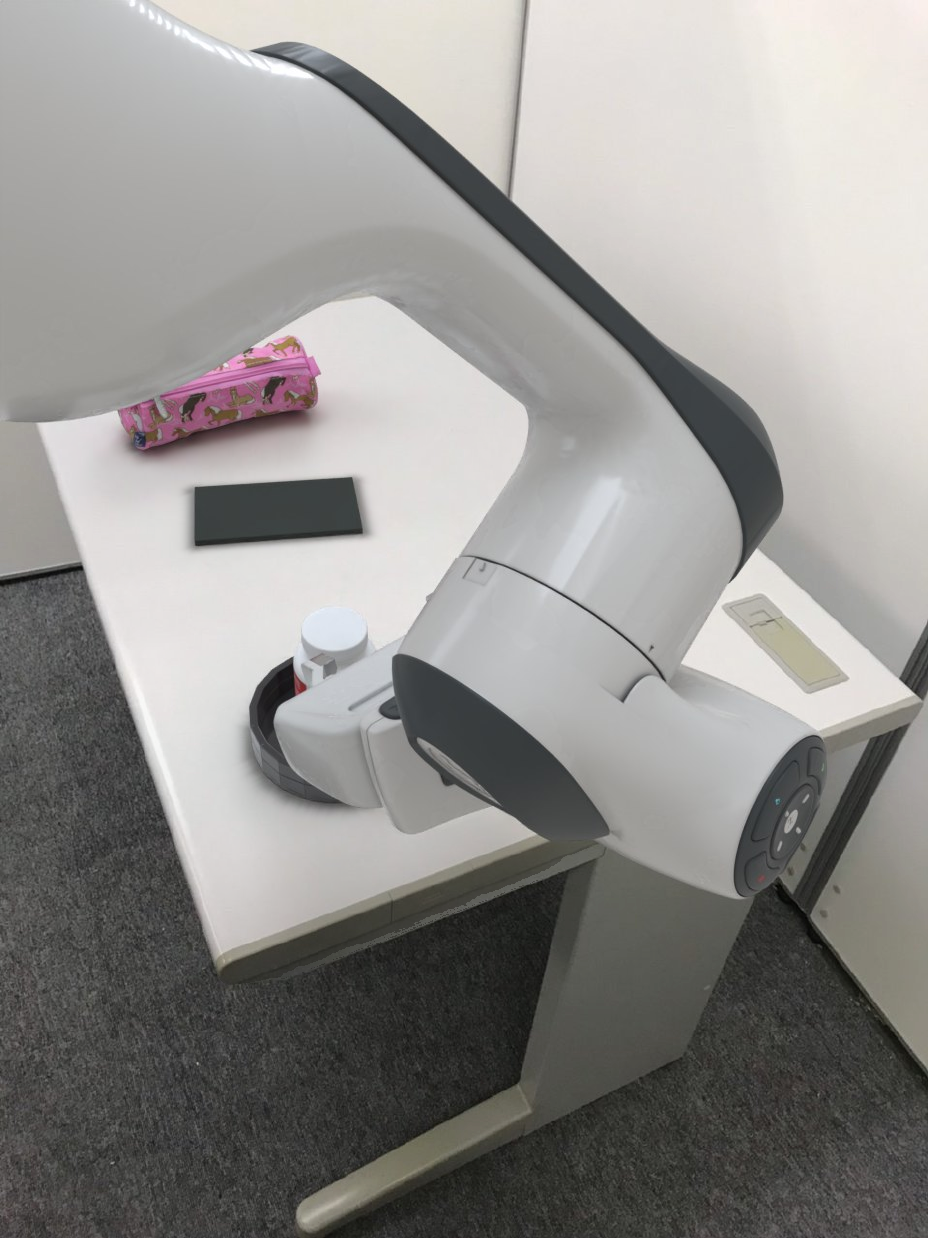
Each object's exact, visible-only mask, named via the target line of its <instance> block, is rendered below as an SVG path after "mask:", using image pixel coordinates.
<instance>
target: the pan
mask: <svg viewBox="0 0 928 1238" xmlns="http://www.w3.org/2000/svg"><path fill="white" fill-rule="evenodd" d="M293 659H294V655H293V656H290V657H289V658H287V659H285V660H284V661H283V662H281V663H280V664H278V665H276V666H275V667H273V668H272V669H270V670H269V672H267V674H266V675H265V676H264V677H263V679H262V680H261V681H259V683H258V684H257V685H256V687H255V689H254V692H253V695H252V698H251V699H250V703H249V706H248V711H249V712H248V714H249V715H248V717H249V730H250V738H251V744H252V751H253V753H254V757H255V758H256V761H257V763H258V765H259V767H260V768H261V770H262V772H263V773H264V774H265V775H266V777H267V778H269V779H270V780H271V781H272V782H273V783H274V784H275V785H277V786H278V787H279V788H281V789H282V790H284V791H285V792H288V793H290V794H291V795H294V796H297V797H300V798H302V799H306V800H310V801H315V802H321V803H343V802H342V801H340V800H338V799H336V798H334V797H332V796H330V795H328V794H327V793H325V792H323V791H322V790H320V789H318V788H317V787H315V786H313V785H312V784H310V783H309V782H307V781H306V780H304V779H303V778H302V777H300V776H299V775H298V774H297V773H296V772H294V771H293V769H292V768H291V767H290V765H289V764H288V762H287V760H286V758H285V756H284V753H283V751H282V749H281V746H280V743H279V741H278V738H277V735H276V731H275V728H274V717H275V714H276V711H277V709H278V707H279V706H280V705H281V704H282V703H284V702H286V701H288V700H290V699H291V698H293V697H295V696H296V693H295V679H294V666H293Z"/></svg>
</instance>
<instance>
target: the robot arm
mask: <svg viewBox="0 0 928 1238" xmlns="http://www.w3.org/2000/svg"><path fill="white" fill-rule="evenodd" d="M354 293H361V294H364V295H369V296H373V297H375V298H378V299H381V300H383V301H384V302H386V303H388V304H390V305H392V306H393V307H395V308H396V309H398V310H399V311H400V312H401V313H403V314H404V315H406V316H407V317H408V318H410V319H411V320H412V321H414V322H415V323H416V324H417V325H419V326H420V328H423V329H424V330H425V331H427V332H428V333H429V334H430V335H432V336H433V337H434V338H436V339H437V340H438V341H439V342H441V343H442V344H443V345H445V346H446V347H447V348H449V349H450V350H451V351H452V352H453V353H455V354H456V355H458V356H459V357H460V358H461V359H463V360H464V361H465V362H466V363H468V364H469V365H471V366H472V367H473V368H475V370H477V371H479V372H480V373H481V374H483V375H484V376H485V377H486V378H488V379H489V380H490V381H492V382H493V383H494V384H496V385H497V386H498V387H500V388H501V390H503V391H505V392H506V393H507V394H509V396H511V397H513V398H514V399H515V400H516V401H517V402H519V403H520V404H521V405H522V406H523V407H524V409H525V412H526V415H527V425H528V426H527V435H526V440H525V446H524V448H523V452H522V455H521V458H520V460H519V463H518V465H516V468H515V469H514V471H513V473H512V474H511V475H510V478H509V479H508V481H507V482H506V484H505V485H504V486H503V488H502V490H501V491H500V493H499V494H498V495H497V497H496V499H495V500H494V502H493V503H492V505H491V506H490V508H489V510H488V511H487V513H486V514H485V516H484V517H483V518H482V519H481V522H480V523H479V524H478V526H477V528H476V529H475V531H474V533H472V535H471V537H470V538H469V539H468V542H467V543H466V544H465V546H464V548H463V549H462V550H461V552H460V553H459V555H458V557H456V558H455V559H454V560H453V561H452V563H451V564H450V566H449V568H448V569H447V570H446V572H445V574H444V575H443V576H442V578H441V579H440V581H439V582H438V584H437V585H436V587H435V588H434V590H433V591H432V592H431V593H429V594H428V595H426V596H425V601H426V602H425V603H424V606H423V607H422V608H421V610H420V612H419V613H418V615H417V616H416V618H415V619H414V621H413V623H412V624H411V626H410V627H409V629H408V631H407V632H406V634H404V635H402V636H400V637H398V638H397V639H395V640H394V641H391V642H390V643H388V644H386V645H385V646H383V647H381V648H379V649H376V650H377V651H375V652H374V653H372V654H370V655H368V656H367V657H365V658H363V659H361V660H359V661H358V662H356V663H354V664H352V665H351V666H349V667H347V668H345V669H343V670H342V671H340V672H338V673H336V672H337V665H336V662H335V659H334V658H332V657H330V656H325V654H324V653H321V654H319V655H317V656H315V657H313V658H311V659H309V660H307V661H305V662H304V663H302V664H301V669H302V672H303V675H304V678H305V681H306V683H307V685H308V686H309V687H310V688H309V689H308V690H306V691H304V692H302V693H301V694H299V695H297V696H295V697H293V698H291V699H290V700H288V701H286V702H284V703H282V704H281V705H280V706H279V707H278V709H277V711H276V714H275V717H274V728H275V731H276V735H277V738H278V741H279V743H280V746H281V749H282V751H283V753H284V756H285V758H286V760H287V762H288V764H289V765H290V767H291V768H292V769H293V771H294V772H296V773H297V774H298V775H299V776H300V777H302V778H303V779H304V780H306V781H307V782H309V783H310V784H312V785H313V786H315V787H317V788H318V789H320V790H322V791H323V792H325V793H327V794H328V795H330V796H332V797H334V798H336V799H338V800H340V801H342V802H341V803H344V804H346V805H349V806H351V807H355V808H360V809H380V808H383V810H384V811H385V814H386V816H387V818H388V820H389V821H390V822H389V823H390V824H391V825H392V827H394V828H395V829H396V830H397V831H399V832H400V833H402V834H404V835H417V834H420V833H424V832H426V831H429V830H431V829H433V828H436V827H438V826H440V825H443V824H446V823H449V822H450V821H453V820H455V819H459V818H461V817H463V816H466V815H470V814H472V813H475V812H479V811H481V810H485V809H488V808H491V807H494V808H496V809H498V810H499V811H502V812H504V813H505V814H507V815H509V816H511V817H513V818H515V819H516V820H517V821H518V822H519V823H520V824H521V825H523V826H524V827H526V828H527V829H529V830H530V831H531V832H533V833H535V834H536V835H538V836H539V837H541V838H543V839H545V840H547V841H549V842H551V843H554V842H559V843H560V842H583V841H591V840H592V841H595V842H596V843H597V844H599V845H601V846H603V847H605V848H606V849H609V850H611V851H612V852H614V853H615V854H619V856H622V857H623V858H626V859H628V860H630V861H633V862H634V863H637V864H639V865H641V866H642V867H646V868H647V869H650V870H652V871H654V872H656V873H659V874H661V875H664V876H666V877H667V878H671V879H674V880H676V881H679V882H681V883H684V884H686V885H689V886H692V887H694V888H697V889H699V890H702V891H706V892H709V893H712V894H715V895H718V896H721V897H725V898H729V899H733V900H746V899H750V898H752V897H754V896H756V895H757V894H759V893H761V892H762V891H764V890H765V889H766V888H768V887H769V886H770V885H772V883H773V882H775V880H776V879H777V878H778V877H779V876H781V875H782V874H783V873H784V872H785V870H787V867H788V866H789V864H790V863H791V861H792V860H793V858H794V856H795V855H796V853H797V852H798V849H799V848H800V847H801V844H802V843H803V841H804V839H805V838H806V835H807V834H808V832H809V830H810V827H811V825H812V823H813V821H814V819H815V817H816V815H817V813H818V811H819V809H820V806H821V801H822V797H823V793H824V790H825V787H826V784H827V778H828V761H827V748H826V747H827V746H826V743H825V740H824V738H823V736H822V734H821V733H820V732H819V731H818V730H817V729H816V728H814V727H812V726H811V725H810V724H808V723H807V722H805V721H804V720H802V719H800V718H798V717H797V716H795V715H793V714H791V713H790V712H788V711H786V710H785V709H783V708H781V707H779V706H777V705H775V704H773V703H771V702H769V701H767V700H765V699H763V698H761V697H759V696H757V695H755V694H753V693H751V692H749V691H747V690H745V689H743V688H741V687H739V686H737V685H734V684H732V683H730V682H728V681H725V680H724V679H721V678H718V677H716V676H714V675H713V674H712V675H711V674H709V673H707V672H704V671H703V670H702V671H701V670H699V669H697V668H693V667H691V666H689V665H687V664H683V661H684V659H685V657H686V656H687V654H688V652H689V651H690V649H691V647H692V645H693V643H694V642H695V640H696V638H697V637H698V635H699V633H700V632H701V630H702V628H703V627H704V625H705V623H706V622H707V620H708V618H709V617H710V615H711V613H712V611H713V610H714V608H715V606H716V605H717V603H718V601H719V600H720V598H721V596H722V594H723V593H724V591H725V589H726V588H727V586H728V585H729V584H730V583H731V582H732V581H734V579H735V578H737V576H738V575H739V573H740V572H741V571H742V569H743V568H744V566H745V565H746V564H747V562H748V561H749V559H750V558H751V557H752V555H753V554H754V553H755V551H756V550H757V548H758V547H759V546H760V544H761V543H762V541H764V539H765V537H766V536H767V535H768V533H769V532H770V530H771V529H772V527H773V526H774V525H775V524H776V522H777V521H778V519H779V518H780V516H781V514H782V511H783V508H784V507H783V506H784V487H783V481H782V476H781V471H780V467H779V464H778V459H777V456H776V452H775V449H774V447H773V444H772V440H771V438H770V436H769V433H768V431H767V429H766V428H765V425H764V424H763V422H762V420H761V418H760V416H759V414H757V412H756V411H755V410H754V409H753V408H752V406H750V404H749V403H748V402H747V401H745V399H743V398H742V397H741V396H740V395H739V394H738V393H736V392H735V391H734V390H733V389H731V388H730V387H729V386H728V385H726V384H725V383H723V382H722V381H721V380H720V379H718V378H716V377H715V376H713V375H712V374H710V373H709V372H708V371H706V370H704V369H703V368H702V367H701V366H699V365H697V364H696V363H694V362H693V361H690V359H688V358H686V357H685V356H683V355H682V354H681V353H679V352H677V351H675V350H674V349H673V348H671V347H670V346H668V345H667V344H666V343H664V342H663V341H662V340H661V339H659V338H658V337H657V336H656V335H654V334H653V332H651V330H649V329H648V328H647V327H646V326H644V324H642V322H640V320H639V319H637V318H636V317H635V316H634V315H633V314H632V313H631V312H630V311H629V310H628V309H627V308H625V307H624V305H622V304H621V303H620V302H619V301H618V300H617V299H616V298H615V297H614V296H613V295H612V294H611V293H610V292H609V291H607V289H606V288H604V286H602V285H601V284H600V283H599V282H598V280H596V279H595V278H594V277H593V276H592V274H590V273H589V272H588V271H587V270H586V269H585V268H584V267H583V266H581V265H580V264H579V262H578V261H576V260H575V259H574V258H573V257H572V256H571V255H570V254H569V253H568V252H567V251H566V250H565V249H564V248H562V246H560V245H559V243H557V242H556V241H555V239H553V238H552V237H551V236H550V235H549V234H548V233H547V232H546V231H545V230H543V228H541V226H539V224H537V223H536V222H535V221H534V220H533V219H532V217H530V216H529V215H528V214H527V213H525V211H523V210H522V208H521V207H519V205H518V204H516V203H515V202H514V201H513V200H512V199H511V198H510V197H508V196H507V194H506V193H504V192H503V191H502V190H501V188H499V187H498V186H497V185H496V184H495V183H494V182H493V181H491V179H490V178H489V177H487V176H486V175H485V173H483V172H482V171H481V170H480V169H479V168H478V167H477V166H475V165H474V164H473V163H472V162H471V161H470V160H469V159H468V158H466V156H465V155H463V154H462V153H461V152H460V151H459V150H458V149H457V148H456V147H454V145H452V144H451V142H449V141H448V140H447V139H446V138H445V137H443V136H442V135H441V134H440V132H437V131H436V130H435V128H433V127H432V126H431V125H430V124H428V123H427V121H425V120H424V119H423V118H421V117H420V116H419V115H418V114H417V113H416V112H415V111H413V110H412V109H411V108H410V107H408V106H407V105H406V104H405V103H403V102H402V101H401V100H400V99H399V98H397V96H394V94H392V93H391V92H389V91H388V90H387V89H385V88H384V87H383V86H382V85H380V84H379V83H377V82H376V81H375V80H373V79H372V78H371V77H369V76H367V75H366V74H365V73H363V72H362V71H361V70H359V69H358V68H355V67H354V66H353V65H351V64H350V63H348V62H347V61H344V60H343V59H342V58H340V57H338V56H336V55H334V54H333V53H330V52H328V51H326V50H324V49H322V48H318V47H316V46H314V45H311V44H307V43H303V42H297V41H281V42H277V43H272V44H268V45H265V46H261V47H257V48H253V49H250V50H248V49H245V48H242V47H239V46H237V45H234V44H231V43H229V42H226V41H224V40H222V39H220V38H217V37H215V36H213V35H211V34H208V33H207V32H204V31H202V30H201V29H198V28H197V27H195V26H194V25H191V24H189V23H188V22H186V21H184V20H182V19H180V18H178V16H177V17H176V16H175V15H173V14H172V13H170V12H169V11H167V10H166V9H164V8H163V7H161V6H159V5H158V4H156V3H155V2H153V1H152V0H0V421H1V422H9V423H32V424H33V423H35V424H36V423H37V424H38V423H41V424H44V423H56V422H68V421H69V422H70V421H75V420H80V419H81V420H82V419H87V418H92V417H97V416H102V415H105V414H108V413H112V412H115V411H117V410H120V409H123V408H127V407H130V406H133V405H136V404H139V403H142V402H144V401H147V400H150V399H152V398H155V397H157V396H160V395H162V394H165V393H167V392H170V391H172V390H174V389H176V388H179V387H181V386H183V385H185V384H187V383H189V382H191V381H193V380H195V379H197V378H199V377H201V376H203V375H205V374H207V373H209V372H210V371H212V370H214V369H216V368H217V367H219V366H221V365H223V364H224V363H226V362H228V361H229V360H231V359H232V358H234V357H236V356H237V355H239V354H241V353H242V352H244V351H246V350H247V349H249V348H253V347H254V346H255V345H257V344H258V343H260V342H262V341H264V340H266V339H267V338H268V337H270V336H272V335H273V334H275V333H277V332H279V331H280V330H282V329H283V328H285V327H287V326H289V325H290V324H291V323H293V322H295V321H297V320H298V319H300V318H302V317H305V316H306V315H308V314H310V313H313V311H315V310H317V309H319V308H320V307H322V306H325V305H326V304H328V303H331V302H333V301H336V300H338V299H341V298H342V297H345V296H347V295H351V294H354Z"/></svg>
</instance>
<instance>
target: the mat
mask: <svg viewBox="0 0 928 1238" xmlns="http://www.w3.org/2000/svg"><path fill="white" fill-rule="evenodd" d="M356 494H357V493H356V489H355V485H354V480H353V476H347V477H330V478H314V479H300V480H299V479H298V480H297V479H296V480H282V481H269V482H252V483H251V482H249V483H237V484H221V485H206V486H203V485H202V486H195V487H194V545H195V546H205V545H207V546H208V545H219V544H221V545H222V544H234V543H246V542H248V543H249V542H260V541H274V540H285V539H286V540H288V539H301V538H315V537H328V536H329V537H330V536H342V535H355V534H356V535H357V534H363V532H364V531H363V529H364V528H363V524H362V519H361V514H360V509H359V504H358V499H357V495H356Z"/></svg>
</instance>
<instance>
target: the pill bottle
mask: <svg viewBox="0 0 928 1238" xmlns="http://www.w3.org/2000/svg"><path fill="white" fill-rule="evenodd" d="M300 640H301V641H299V643H298V645H297V646H296V649H295V650H294V655H293V656H294V659H293V666H294V679H295V693H296V696H297V695H299V694H301V693H302V692H304V691H306V690H308V689H309V688H310V687H309V686H308V685H307V683H306V681H305V678H304V675H303V672H302V669H301V664H302V663H304V662H305V661H307V660H309V659H311V658H313V657H315V656H317V655H319V654H321V653H324V654H325V656H330V657H332V658H334V659H335V662H336V665H337V672H336V673H338V672H340V671H342V670H343V669H345V668H347V667H349V666H351V665H352V664H354V663H356V662H358V661H359V660H361V659H363V658H365V657H367V656H368V655H370V654H372V653H374V652H375V651H377V650H378V649H377V647H376V646H375V644H374V642H373V641H372V640H371V638H370V637H369V629H368V623H367V621H366V618H364V616H363V615H362V614H360V613H359V612H358V611H356V610H354V609H353V608H349V607H346V606H337V605H332V606H325V607H322V608H319V609H317V610H314V611H313V612H311V613H310V614H308V615H307V616H306V617H305V618H304V620H303V621H302V624H301V628H300Z"/></svg>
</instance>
